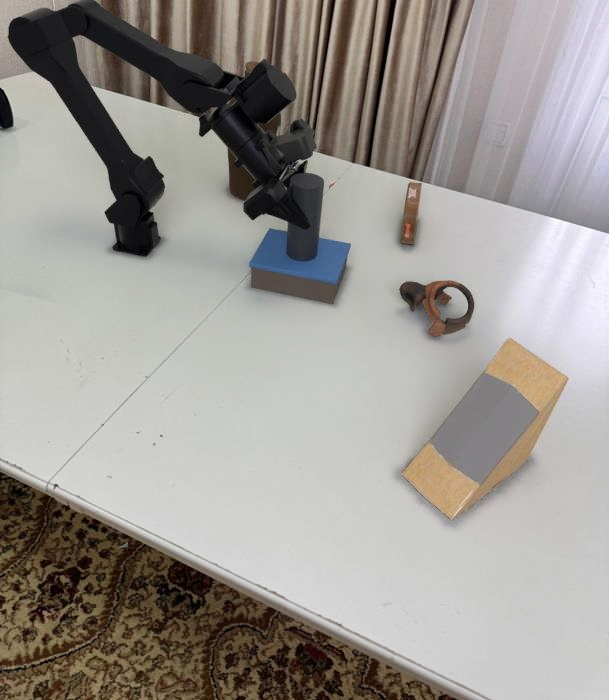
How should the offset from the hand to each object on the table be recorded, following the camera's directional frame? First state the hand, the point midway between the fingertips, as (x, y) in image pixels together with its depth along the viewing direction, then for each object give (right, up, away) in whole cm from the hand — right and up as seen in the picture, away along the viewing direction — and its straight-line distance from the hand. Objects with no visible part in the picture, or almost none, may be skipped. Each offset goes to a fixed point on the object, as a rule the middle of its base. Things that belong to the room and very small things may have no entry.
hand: (312, 219), depth 99 cm
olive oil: (-12, +12, +30) cm, 35 cm away
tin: (+19, +2, +22) cm, 29 cm away
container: (-2, -8, +8) cm, 12 cm away
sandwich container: (+19, -36, -20) cm, 45 cm away
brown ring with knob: (+19, -16, +2) cm, 25 cm away
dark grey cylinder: (-2, -5, +5) cm, 7 cm away
